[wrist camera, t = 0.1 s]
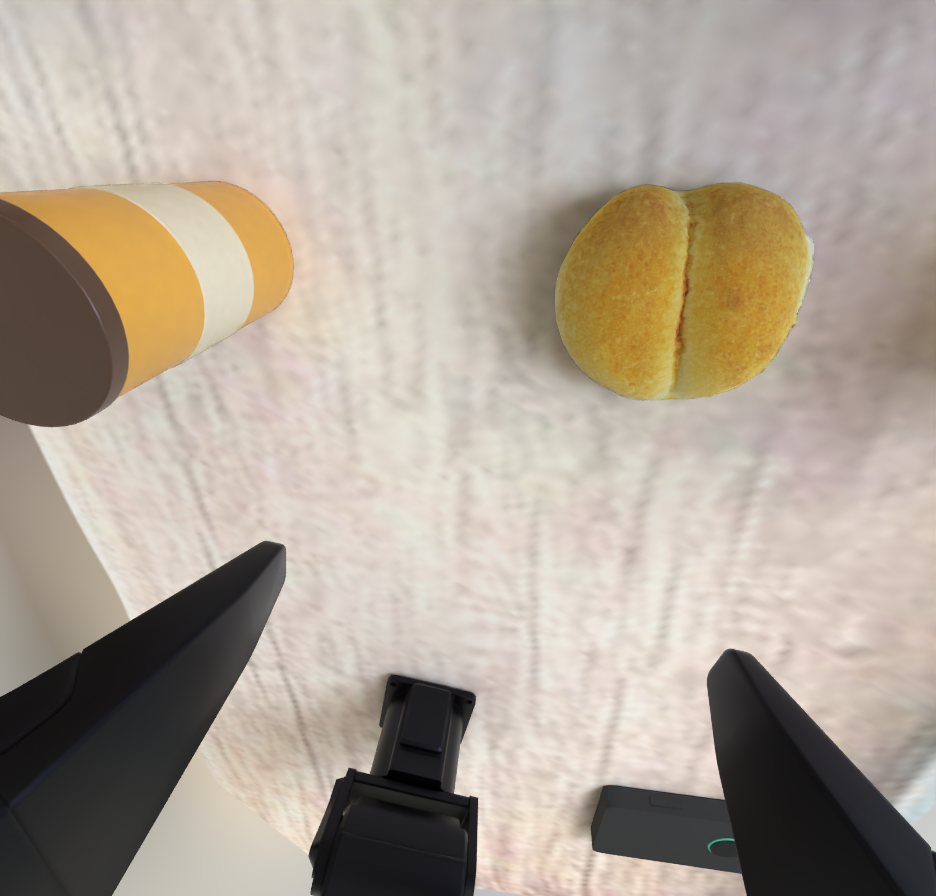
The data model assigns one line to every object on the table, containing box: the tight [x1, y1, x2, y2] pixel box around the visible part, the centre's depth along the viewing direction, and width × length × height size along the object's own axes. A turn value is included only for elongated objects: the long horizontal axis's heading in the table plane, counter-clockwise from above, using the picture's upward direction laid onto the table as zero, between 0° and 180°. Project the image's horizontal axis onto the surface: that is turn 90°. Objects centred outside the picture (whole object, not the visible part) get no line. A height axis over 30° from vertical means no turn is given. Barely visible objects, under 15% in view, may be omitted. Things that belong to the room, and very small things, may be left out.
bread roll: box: [555, 183, 814, 400], centre depth 19 cm, size 8×9×4 cm
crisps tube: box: [0, 181, 293, 427], centre depth 17 cm, size 6×6×11 cm
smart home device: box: [591, 786, 742, 874], centre depth 40 cm, size 8×2×20 cm
